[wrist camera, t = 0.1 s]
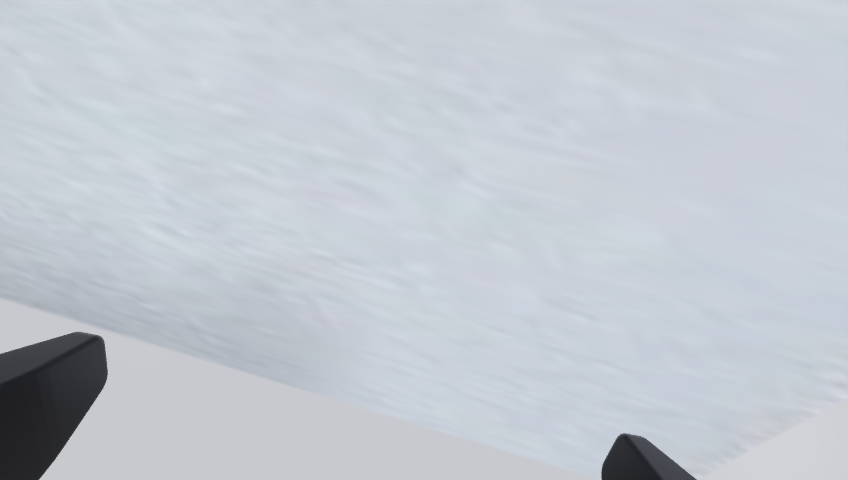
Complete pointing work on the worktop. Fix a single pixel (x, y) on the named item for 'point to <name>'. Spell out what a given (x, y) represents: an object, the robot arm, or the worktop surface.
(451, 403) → the worktop surface
